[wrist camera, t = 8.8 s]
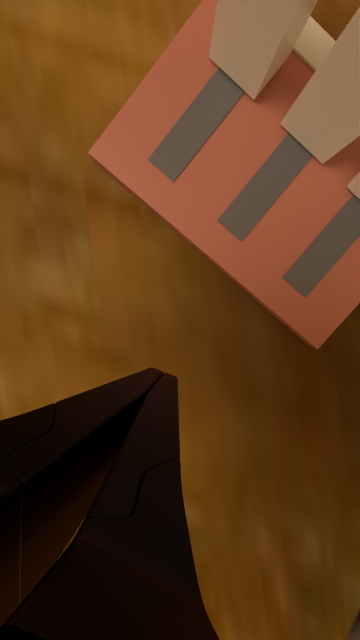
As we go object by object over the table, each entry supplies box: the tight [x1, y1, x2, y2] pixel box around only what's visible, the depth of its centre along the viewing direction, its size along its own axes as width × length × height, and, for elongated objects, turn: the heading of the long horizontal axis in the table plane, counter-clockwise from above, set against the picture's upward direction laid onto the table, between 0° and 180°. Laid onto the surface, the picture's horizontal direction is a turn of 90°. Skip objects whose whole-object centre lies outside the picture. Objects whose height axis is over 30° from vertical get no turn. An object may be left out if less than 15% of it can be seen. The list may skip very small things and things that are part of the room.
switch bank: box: [88, 0, 360, 350], centre depth 19 cm, size 14×19×2 cm
